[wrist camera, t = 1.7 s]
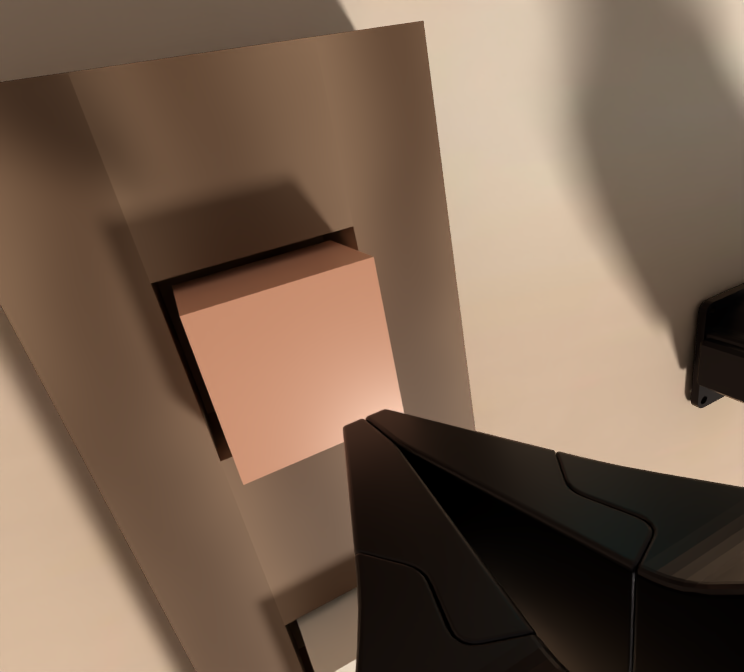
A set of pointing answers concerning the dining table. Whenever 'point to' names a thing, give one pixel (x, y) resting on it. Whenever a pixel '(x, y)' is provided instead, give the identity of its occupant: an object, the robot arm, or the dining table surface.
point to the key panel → (208, 256)
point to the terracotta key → (291, 352)
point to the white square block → (332, 634)
